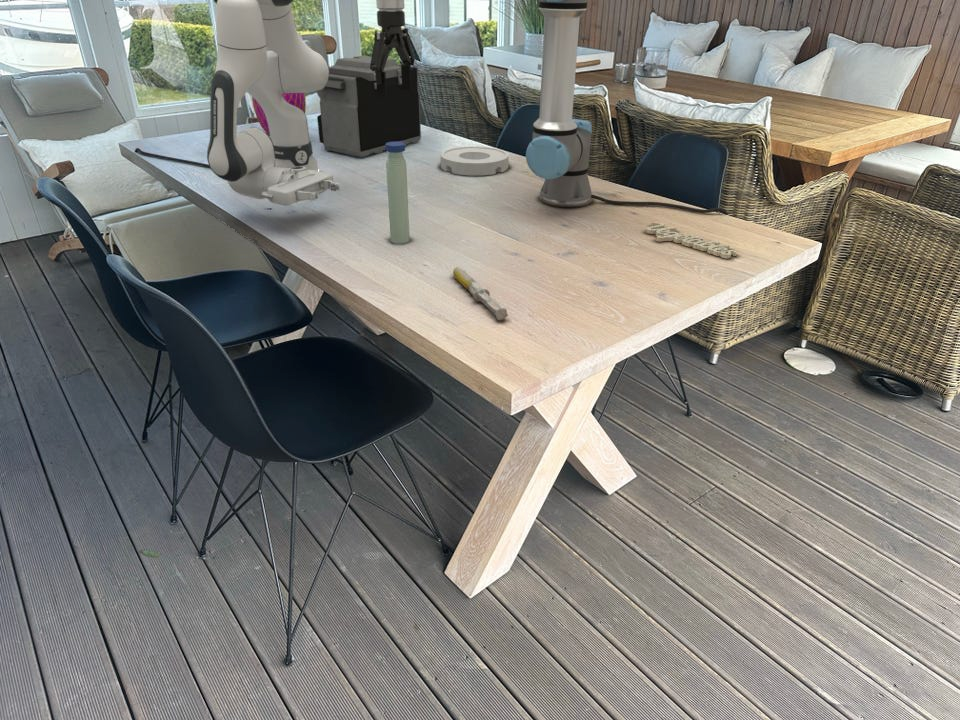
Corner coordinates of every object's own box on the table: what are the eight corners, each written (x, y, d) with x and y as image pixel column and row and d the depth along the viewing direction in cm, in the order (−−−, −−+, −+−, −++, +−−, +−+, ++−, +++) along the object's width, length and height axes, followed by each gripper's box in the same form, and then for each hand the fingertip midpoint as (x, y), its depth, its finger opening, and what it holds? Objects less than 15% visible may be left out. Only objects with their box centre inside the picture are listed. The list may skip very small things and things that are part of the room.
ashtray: (443, 157, 245) (443, 145, 243) (508, 158, 244) (508, 146, 242) (437, 174, 225) (437, 162, 223) (508, 176, 224) (508, 163, 222)
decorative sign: (632, 229, 179) (655, 221, 185) (631, 232, 179) (654, 224, 185) (722, 258, 162) (744, 248, 168) (721, 262, 162) (743, 252, 168)
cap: (392, 147, 165) (392, 140, 164) (408, 149, 163) (408, 142, 162) (382, 151, 161) (381, 144, 160) (398, 153, 159) (398, 146, 159)
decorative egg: (293, 132, 276) (283, 50, 261) (319, 140, 264) (310, 56, 249) (249, 139, 265) (236, 54, 250) (273, 148, 253) (261, 60, 238)
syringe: (449, 274, 155) (449, 263, 153) (465, 272, 156) (464, 260, 154) (490, 323, 135) (491, 310, 133) (508, 319, 136) (508, 307, 134)
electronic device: (383, 133, 276) (378, 52, 261) (425, 141, 265) (422, 56, 250) (314, 150, 251) (304, 61, 235) (358, 160, 240) (350, 67, 224)
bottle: (397, 235, 176) (392, 142, 164) (413, 239, 174) (409, 144, 162) (386, 241, 173) (380, 146, 161) (402, 245, 171) (398, 148, 159)
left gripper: (254, 182, 170) (300, 189, 166) (305, 164, 187) (348, 170, 182) (258, 207, 173) (303, 214, 169) (307, 188, 190) (350, 194, 185)
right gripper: (402, 7, 197) (405, 85, 208) (352, 12, 178) (359, 98, 188) (425, 8, 194) (427, 87, 205) (377, 13, 175) (382, 101, 186)
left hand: (327, 191), depth 175 cm, fingers open, 8 cm apart
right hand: (394, 93), depth 197 cm, fingers open, 13 cm apart
